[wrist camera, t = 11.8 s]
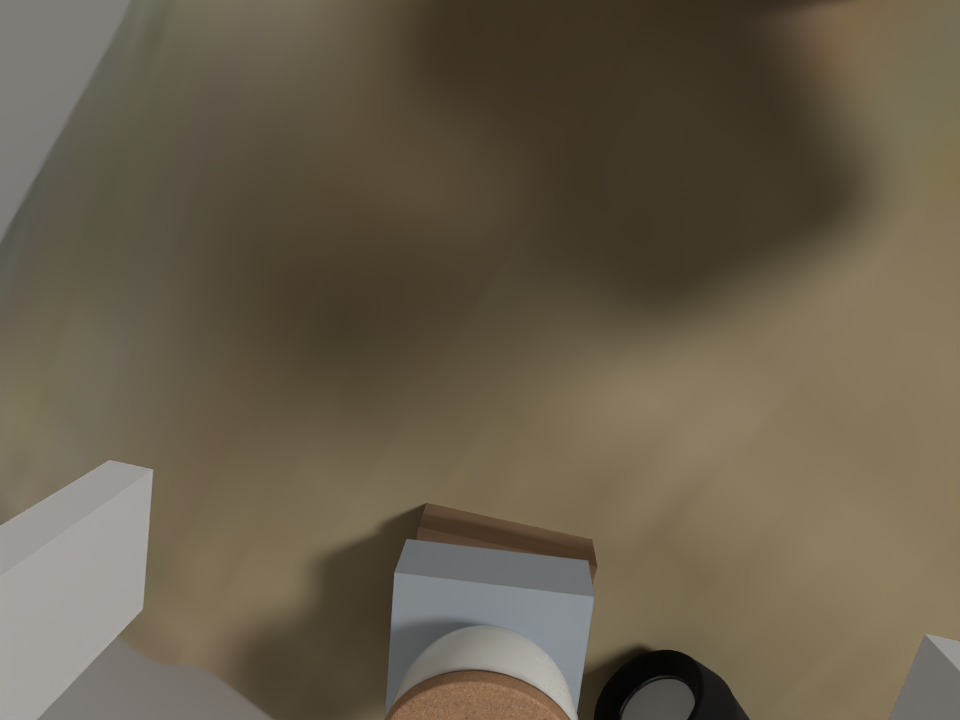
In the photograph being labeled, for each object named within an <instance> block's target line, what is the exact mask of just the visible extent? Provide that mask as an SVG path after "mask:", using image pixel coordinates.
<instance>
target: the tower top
mask: <svg viewBox="0 0 960 720" xmlns="http://www.w3.org/2000/svg"><path fill="white" fill-rule="evenodd" d="M593 603H594V592H593V586H592V580H591V575H590V569H589V563H588V561H587V560H579V559H570V558H562V557H553V556H545V555H536V554H528V553H520V552H511V551H503V550H495V549H486V548H478V547H470V546H461V545H453V544H445V543H436V542H428V541H420V540H412V539H406V542H405V545H404V548H403V550H402V553H401V556H400V559H399V561H398V564H397V567H396V570H395V572H394V587H393V602H392V617H391V632H390V647H389V663H388V678H387V693H386V708H385V718H386V716H387V714H388V712H389V709H390V706H391V703H392V701H393V698H394V695H395V693H396V691H397V689H398V687H399V685H400V683H401V681H402V679H403V677H404V676H405V674H406V672H407V671H408V669H409V668H410V666H411V665H412V663H413V662H414V661H415V660H416V658H417V657H418V656H419V655H420V654H421V653H422V652H423V651H424V650H425V649H426V648H427V647H428V646H430V645H431V644H432V643H433V642H434V641H436V640H437V639H439V638H441V637H442V636H444V635H446V634H448V633H451V632H453V631H456V630H458V629H461V628H465V627H470V626H479V625H488V626H497V627H502V628H506V629H509V630H512V631H515V632H517V633H519V634H521V635H523V636H525V637H527V638H528V639H530V640H531V641H533V642H534V643H535V644H537V645H538V646H540V647H541V648H542V649H543V650H544V651H545V652H546V653H547V654H548V655H549V656H550V658H551V659H552V660H553V662H554V663H555V664H556V666H557V667H558V668H559V670H560V671H561V673H562V675H563V677H564V679H565V681H566V683H567V685H568V688H569V690H570V692H571V695H572V698H573V701H574V704H575V708H576V712H577V709H578V702H579V695H580V689H581V682H582V676H583V669H584V662H585V656H586V649H587V643H588V636H589V629H590V623H591V616H592V610H593Z"/></svg>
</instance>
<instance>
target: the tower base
mask: <svg viewBox="0 0 960 720" xmlns="http://www.w3.org/2000/svg"><path fill="white" fill-rule="evenodd" d="M416 540H420V541H428V542H436V543H445V544H453V545H461V546H470V547H478V548H486V549H495V550H503V551H511V552H520V553H528V554H536V555H545V556H553V557H562V558H570V559H579V560H587V561H588V563H589V569H590V575H591V580H592V584H593V580H594V576H595V573H596V569H597V563H596V558H595V552H594V547H593V542H592V540H591V539H587V538H582V537H578V536H573V535H569V534H564V533H560V532H555V531H551V530H546V529H542V528H537V527H532V526H528V525H523V524H519V523H514V522H510V521H505V520H501V519H496V518H492V517H487V516H483V515H478V514H474V513H469V512H464V511H460V510H455V509H451V508H446V507H442V506H437V505H433V504H428V503H426V506H425V509H424V512H423V515H422V518H421V521H420V523H419V526H418V531H417V536H416Z"/></svg>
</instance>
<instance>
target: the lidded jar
mask: <svg viewBox="0 0 960 720" xmlns="http://www.w3.org/2000/svg"><path fill="white" fill-rule="evenodd" d="M385 720H578V716H577V712H576V708H575V704H574V701H573V698H572V695H571V692H570V690H569V688H568V685H567V683H566V681H565V679H564V677H563V675H562V673H561V671H560V670H559V668H558V667H557V666H556V664H555V663H554V662H553V660H552V659H551V658H550V656H549V655H548V654H547V653H546V652H545V651H544V650H543V649H542V648H541V647H540V646H538V645H537V644H535V643H534V642H533V641H531V640H530V639H528V638H527V637H525V636H523V635H521V634H519V633H517V632H515V631H512V630H509V629H506V628H502V627H497V626H488V625H479V626H470V627H465V628H461V629H458V630H456V631H453V632H451V633H448V634H446V635H444V636H442V637H441V638H439V639H437V640H436V641H434V642H433V643H432V644H431V645H430V646H428V647H427V648H426V649H425V650H424V651H423V652H422V653H421V654H420V655H419V656H418V657H417V658H416V660H415V661H414V662H413V663H412V665H411V666H410V668H409V669H408V671H407V672H406V674H405V676H404V677H403V679H402V681H401V683H400V685H399V687H398V689H397V691H396V693H395V695H394V698H393V701H392V703H391V706H390V709H389V712H388V714H387V716H386V718H385Z"/></svg>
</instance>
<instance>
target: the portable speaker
mask: <svg viewBox="0 0 960 720" xmlns="http://www.w3.org/2000/svg"><path fill="white" fill-rule="evenodd" d="M594 720H750V719H749V718H748V717H747V715H746V714H745V712H744V711H743V709H742V708H741V706H740V705H739V703H738V702H737V700H736V699H735V697H734V696H733V694H732V692H731V690H730V688H729V687H728V686H727V684H726V683H725V681H724V680H723V679H722V678H721V677H719V676H718V675H717V674H716V673H714V672H713V671H711V670H710V669H708V668H707V667H705V666H703V665H702V664H700V663H699V662H697V661H696V660H694V659H693V658H691V657H690V656H688V655H686V654H684V653H681V652H678V651H673V650H659V651H653V652H649V653H646V654H643V655H641V656H639V657H637V658H635V659H633V660H631V661H630V662H628V663H627V664H626V665H624V666H623V667H622V668H620V669H619V670H618V671H617V672H616V673H615V674H614V675H613V676H612V677H611V678H610V680H609V681H608V682H607V684H606V685H605V687H604V688H603V690H602V692H601V694H600V696H599V698H598V701H597V704H596V708H595V714H594Z"/></svg>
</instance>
